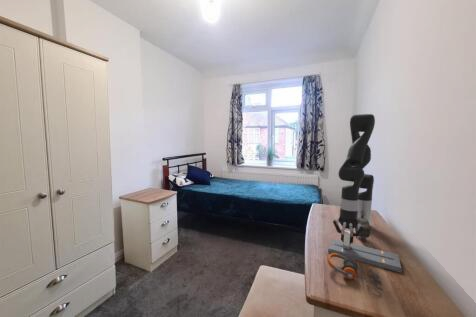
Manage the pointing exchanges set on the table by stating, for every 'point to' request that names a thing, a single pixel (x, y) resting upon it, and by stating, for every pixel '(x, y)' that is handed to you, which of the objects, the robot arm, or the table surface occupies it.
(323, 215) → the table surface
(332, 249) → the console
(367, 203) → the robot arm
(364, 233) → the alarm clock
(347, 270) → the headphones
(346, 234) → the fader
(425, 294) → the table surface
